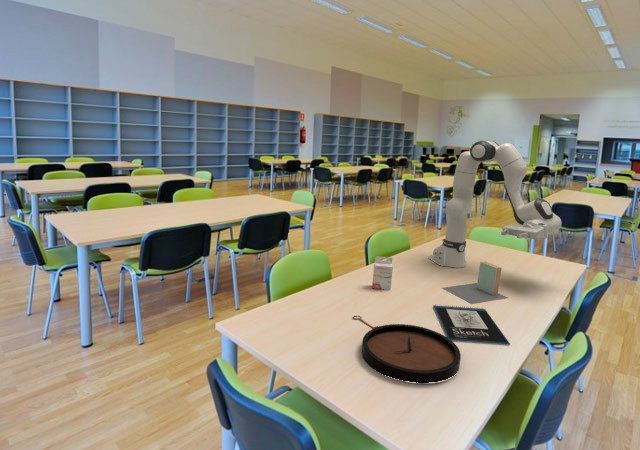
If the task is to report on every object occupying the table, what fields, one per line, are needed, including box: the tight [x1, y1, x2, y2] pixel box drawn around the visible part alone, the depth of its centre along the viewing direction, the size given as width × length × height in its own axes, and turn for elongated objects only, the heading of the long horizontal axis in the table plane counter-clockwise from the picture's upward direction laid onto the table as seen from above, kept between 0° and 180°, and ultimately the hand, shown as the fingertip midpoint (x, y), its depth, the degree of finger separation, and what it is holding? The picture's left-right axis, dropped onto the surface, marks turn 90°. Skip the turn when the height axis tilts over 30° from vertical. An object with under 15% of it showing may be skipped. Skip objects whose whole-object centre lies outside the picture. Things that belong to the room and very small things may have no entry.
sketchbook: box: [432, 304, 511, 346], centre depth 161 cm, size 22×30×2 cm
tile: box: [476, 260, 502, 295], centre depth 195 cm, size 10×3×13 cm, turn 24°
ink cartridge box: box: [371, 255, 394, 291], centre depth 194 cm, size 9×5×15 cm, turn 84°
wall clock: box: [361, 323, 462, 383], centre depth 136 cm, size 31×4×31 cm
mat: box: [441, 282, 509, 305], centre depth 193 cm, size 20×22×1 cm
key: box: [352, 315, 379, 330], centre depth 158 cm, size 6×1×15 cm
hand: (509, 235), depth 195 cm, fingers open, 8 cm apart
